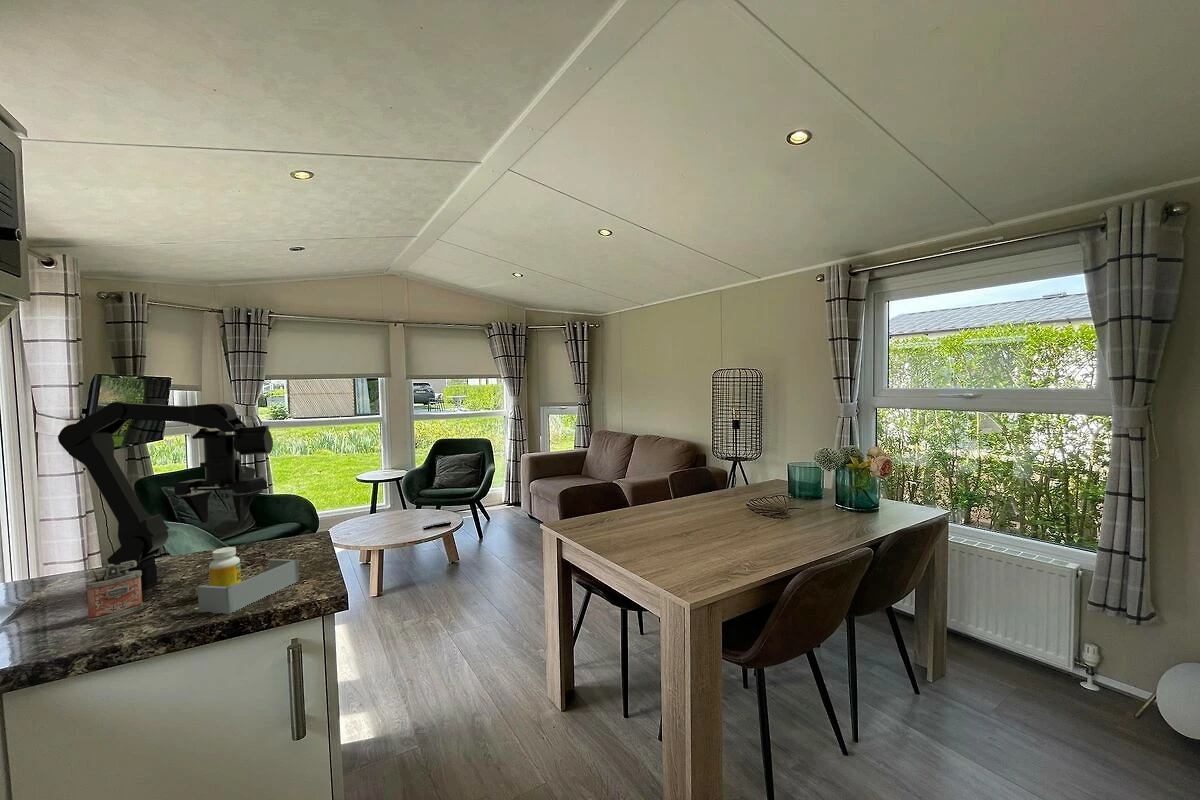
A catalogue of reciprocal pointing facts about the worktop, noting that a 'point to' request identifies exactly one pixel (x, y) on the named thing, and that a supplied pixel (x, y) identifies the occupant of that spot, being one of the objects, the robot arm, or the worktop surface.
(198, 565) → the worktop surface
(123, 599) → the lighter
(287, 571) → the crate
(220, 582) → the supplement bottle
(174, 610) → the worktop surface
